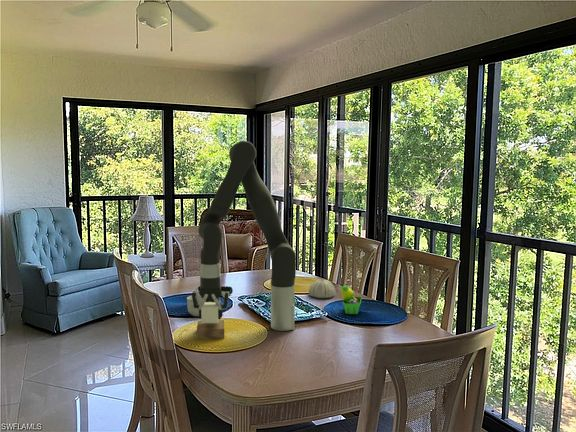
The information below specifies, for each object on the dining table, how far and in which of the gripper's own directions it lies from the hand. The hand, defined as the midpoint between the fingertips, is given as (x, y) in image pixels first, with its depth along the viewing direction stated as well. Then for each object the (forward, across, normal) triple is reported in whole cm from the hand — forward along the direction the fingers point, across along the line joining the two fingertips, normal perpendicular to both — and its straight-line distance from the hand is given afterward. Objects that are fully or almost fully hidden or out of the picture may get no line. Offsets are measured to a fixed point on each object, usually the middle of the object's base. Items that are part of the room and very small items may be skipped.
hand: (210, 318), depth 177 cm
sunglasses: (+7, +7, -48) cm, 49 cm away
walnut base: (+6, 0, 0) cm, 6 cm away
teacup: (+6, +7, -24) cm, 26 cm away
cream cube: (+1, 0, 0) cm, 1 cm away
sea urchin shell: (+6, -46, -54) cm, 71 cm away
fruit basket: (+6, -57, -30) cm, 65 cm away
